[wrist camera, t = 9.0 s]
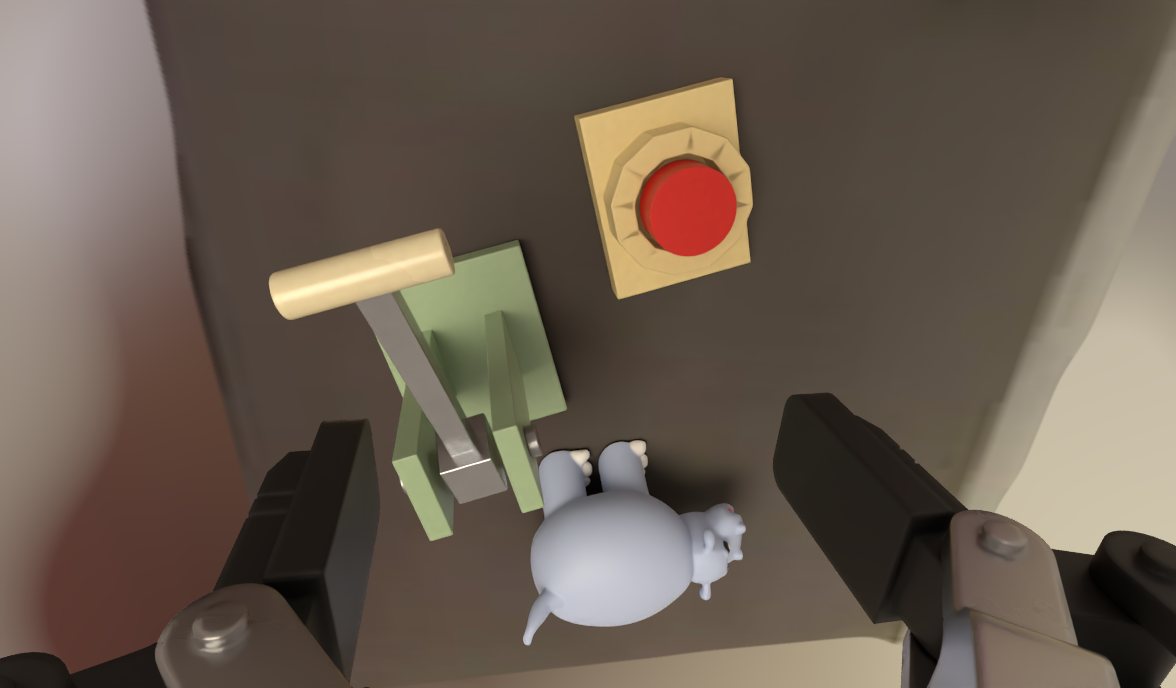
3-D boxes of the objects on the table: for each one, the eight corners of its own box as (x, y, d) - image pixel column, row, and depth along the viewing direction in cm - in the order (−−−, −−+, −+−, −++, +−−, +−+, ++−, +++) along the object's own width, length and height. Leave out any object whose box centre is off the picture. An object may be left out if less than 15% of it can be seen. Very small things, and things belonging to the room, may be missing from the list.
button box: (573, 115, 31) (586, 123, 28) (721, 76, 32) (749, 80, 28) (612, 289, 36) (626, 313, 33) (739, 253, 36) (766, 274, 33)
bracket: (358, 282, 33) (303, 407, 22) (518, 238, 33) (545, 338, 22) (427, 440, 38) (411, 607, 27) (564, 400, 39) (605, 547, 27)
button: (632, 172, 30) (642, 180, 28) (717, 149, 30) (732, 155, 28) (647, 254, 32) (657, 267, 30) (726, 232, 32) (741, 243, 30)
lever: (272, 252, 18) (263, 308, 16) (437, 208, 18) (444, 258, 17) (424, 467, 28) (427, 514, 26) (529, 436, 28) (539, 481, 27)
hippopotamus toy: (712, 542, 47) (766, 651, 38) (517, 574, 45) (530, 697, 36) (721, 426, 42) (785, 522, 33) (503, 456, 40) (513, 567, 31)
